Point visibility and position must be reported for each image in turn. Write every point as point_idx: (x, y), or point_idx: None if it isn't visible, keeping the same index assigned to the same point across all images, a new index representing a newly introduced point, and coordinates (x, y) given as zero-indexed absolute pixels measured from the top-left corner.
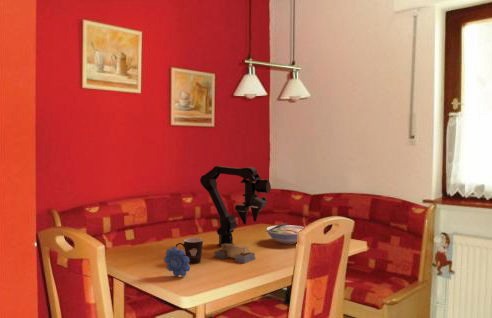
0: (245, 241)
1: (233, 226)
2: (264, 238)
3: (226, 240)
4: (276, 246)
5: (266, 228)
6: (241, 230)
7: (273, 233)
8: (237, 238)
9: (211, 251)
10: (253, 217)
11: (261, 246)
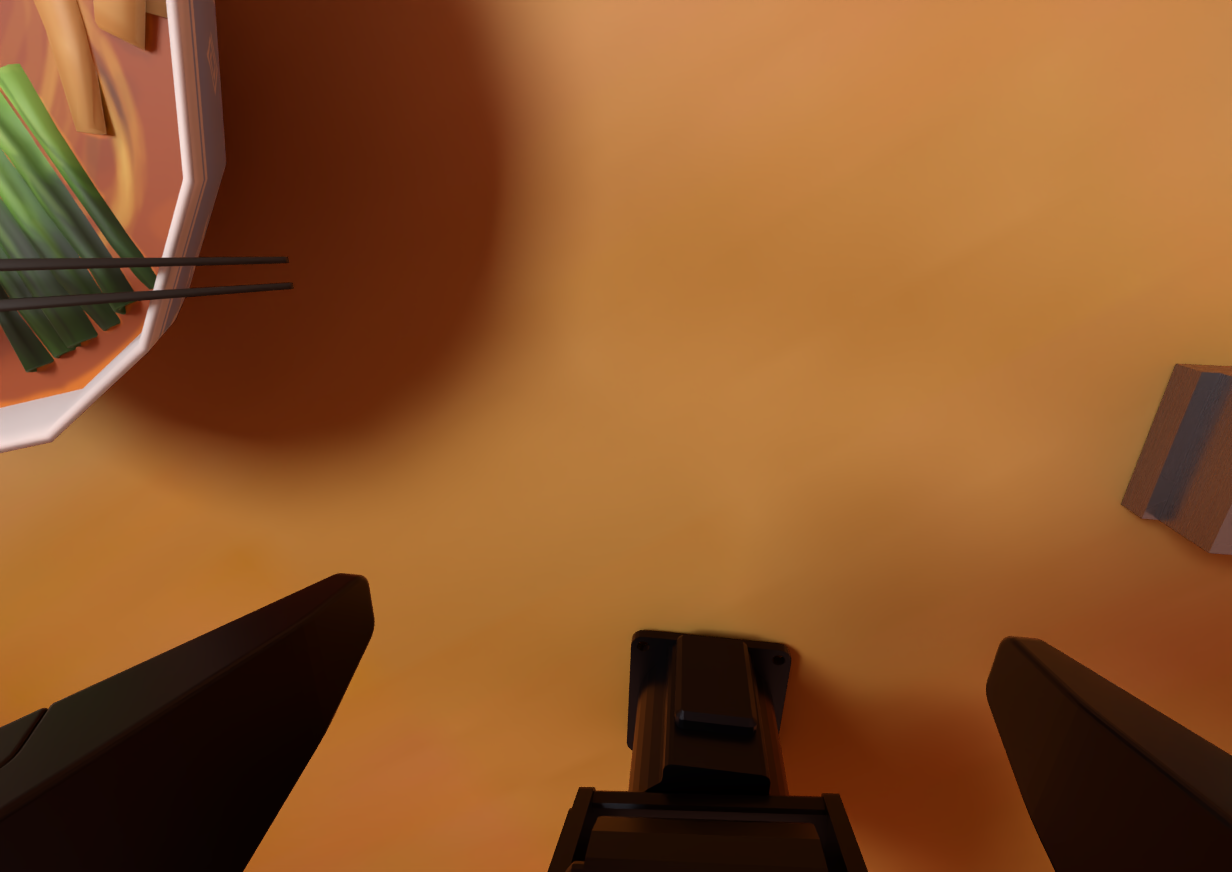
0: (408, 596)
1: (712, 869)
2: (127, 483)
3: (764, 721)
4: (341, 84)
5: (45, 441)
6: None
7: (199, 107)
8: (359, 720)
9: None
10: (296, 756)
11: (490, 295)
